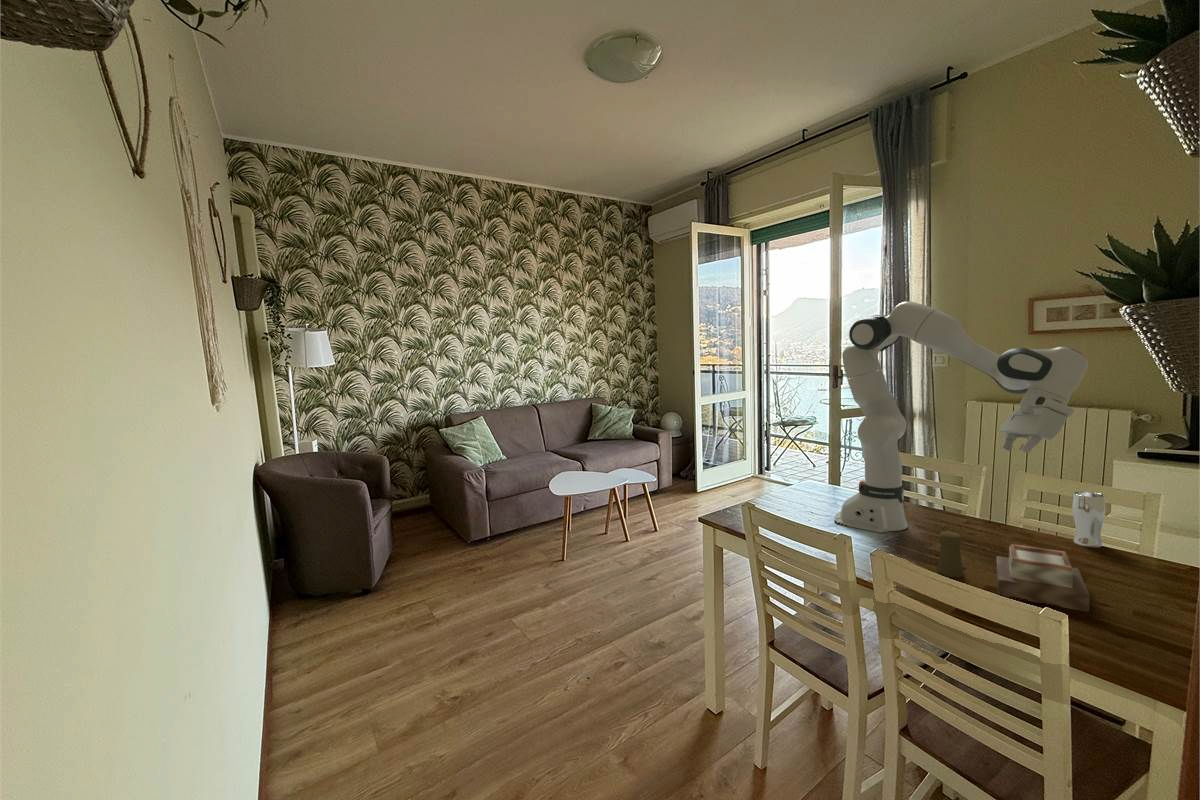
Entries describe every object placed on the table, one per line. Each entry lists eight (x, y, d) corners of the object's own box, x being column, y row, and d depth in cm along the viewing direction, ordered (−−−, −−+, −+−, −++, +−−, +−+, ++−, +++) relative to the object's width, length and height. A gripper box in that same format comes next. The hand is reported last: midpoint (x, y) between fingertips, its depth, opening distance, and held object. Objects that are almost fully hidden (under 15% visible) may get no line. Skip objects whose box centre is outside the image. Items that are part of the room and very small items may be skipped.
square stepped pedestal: (998, 595, 122) (998, 560, 122) (996, 570, 135) (996, 538, 134) (1088, 612, 113) (1090, 574, 112) (1077, 583, 125) (1078, 549, 125)
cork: (968, 577, 132) (968, 537, 131) (943, 577, 133) (943, 537, 132) (956, 567, 138) (956, 529, 137) (932, 567, 139) (932, 528, 138)
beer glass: (1104, 542, 148) (1105, 493, 147) (1104, 550, 143) (1106, 499, 142) (1071, 537, 153) (1073, 489, 152) (1070, 544, 148) (1072, 495, 147)
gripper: (1009, 401, 145) (984, 443, 146) (1051, 398, 125) (1022, 447, 127) (1032, 411, 143) (1006, 454, 145) (1079, 410, 124) (1048, 459, 125)
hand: (1014, 450), depth 135 cm, fingers open, 8 cm apart
